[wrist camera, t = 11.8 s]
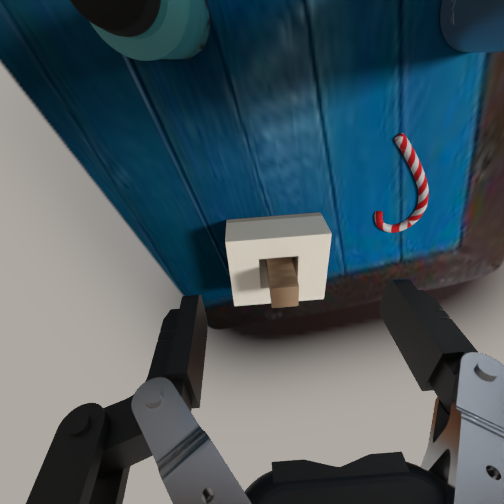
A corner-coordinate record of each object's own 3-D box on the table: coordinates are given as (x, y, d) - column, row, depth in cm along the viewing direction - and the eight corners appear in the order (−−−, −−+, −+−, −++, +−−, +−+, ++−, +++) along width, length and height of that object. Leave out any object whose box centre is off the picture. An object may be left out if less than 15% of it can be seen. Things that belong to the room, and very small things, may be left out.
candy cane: (429, 124, 34) (430, 223, 43) (423, 122, 35) (426, 219, 44) (365, 149, 36) (379, 239, 44) (362, 146, 37) (375, 235, 45)
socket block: (320, 212, 41) (331, 233, 37) (315, 274, 48) (323, 298, 44) (226, 219, 41) (225, 242, 37) (234, 280, 48) (234, 306, 44)
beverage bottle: (196, 73, 31) (151, 96, 15) (136, 33, 29) (4, 6, 12) (224, 7, 28) (208, -58, 11) (160, -44, 25) (26, -216, 9)
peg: (287, 242, 43) (299, 286, 35) (287, 260, 45) (298, 305, 37) (264, 244, 43) (271, 288, 35) (265, 262, 45) (272, 308, 37)
